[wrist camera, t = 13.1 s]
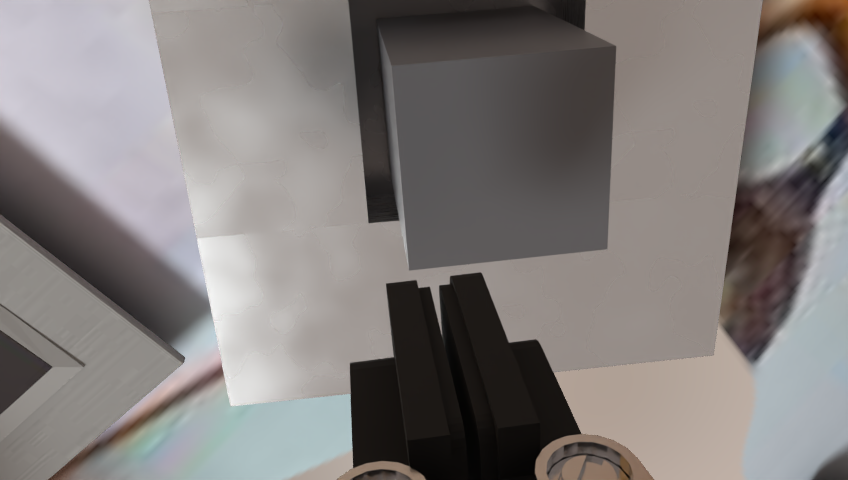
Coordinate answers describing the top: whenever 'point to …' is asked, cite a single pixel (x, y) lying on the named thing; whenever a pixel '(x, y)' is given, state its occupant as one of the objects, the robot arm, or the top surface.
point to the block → (497, 134)
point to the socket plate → (375, 201)
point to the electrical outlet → (64, 360)
